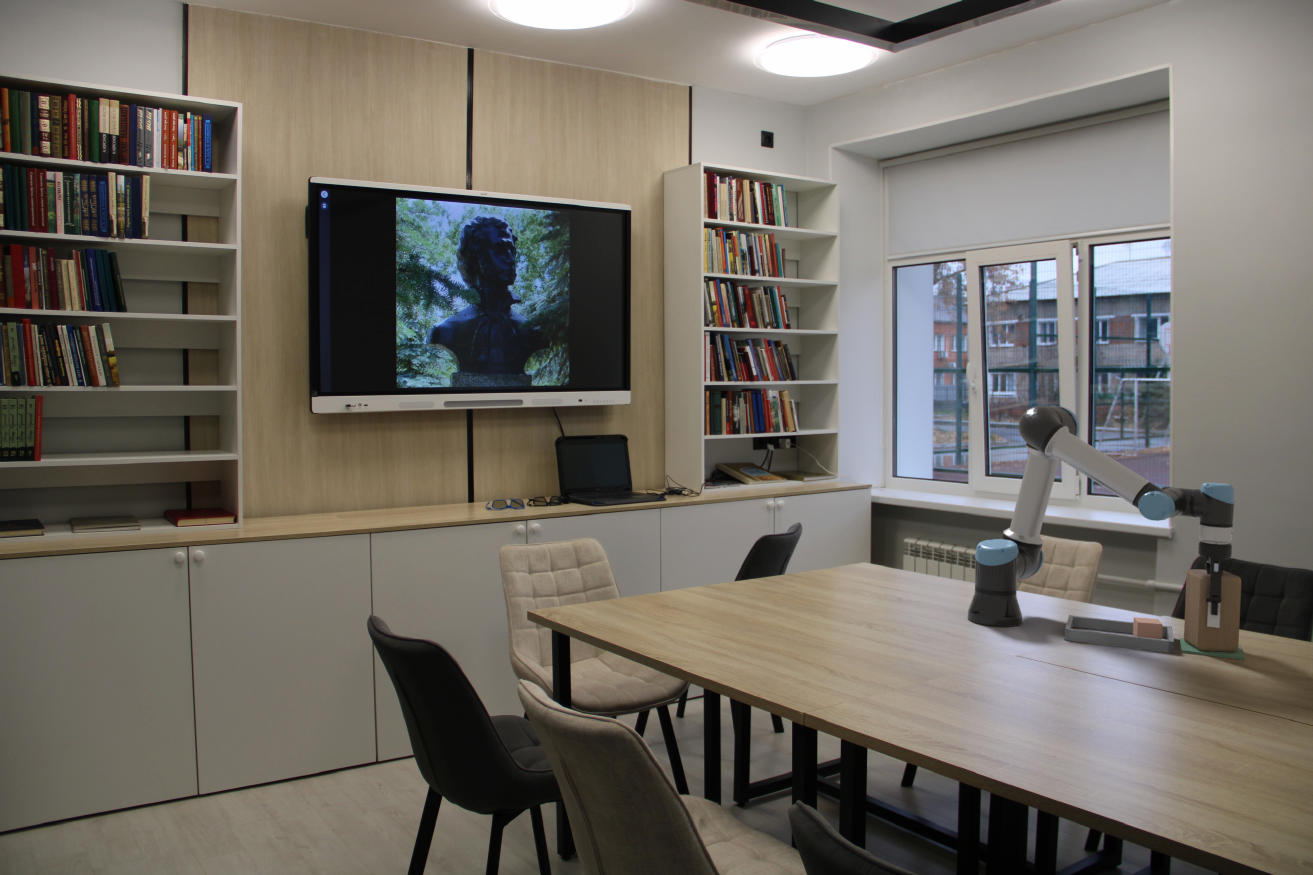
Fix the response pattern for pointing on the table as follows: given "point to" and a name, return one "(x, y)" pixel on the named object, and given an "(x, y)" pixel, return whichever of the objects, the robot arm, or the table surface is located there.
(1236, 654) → the pad
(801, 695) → the table surface
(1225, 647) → the wooden block
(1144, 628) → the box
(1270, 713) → the table surface
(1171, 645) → the bin
